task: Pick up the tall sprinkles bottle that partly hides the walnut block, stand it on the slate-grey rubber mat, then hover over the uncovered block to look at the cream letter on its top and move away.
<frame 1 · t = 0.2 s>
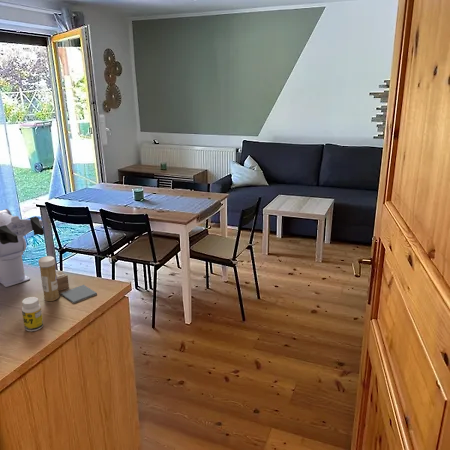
hand: (29, 235, 124), 21 cm above the table, tool horizontal, fingers open, 7 cm apart
grey mat: (78, 294, 134), on the table
sprinkles bottle: (51, 298, 132), on the table
supplement bottle: (34, 327, 117), on the table
walnut block: (59, 287, 139), on the table
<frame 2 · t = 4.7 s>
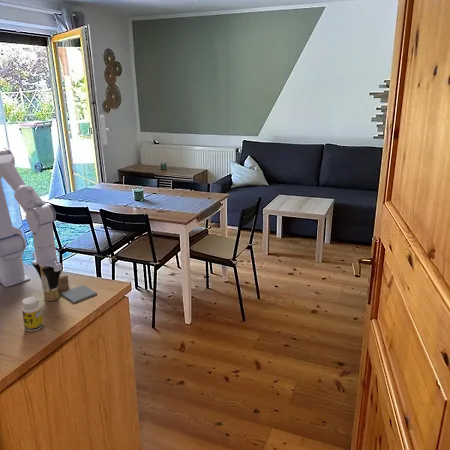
hand: (50, 285, 130), 4 cm above the table, tool pointing down, fingers closed on sprinkles bottle, 4 cm apart
sprinkles bottle: (51, 298, 132), on the table, touching gripper
everything else where it was.
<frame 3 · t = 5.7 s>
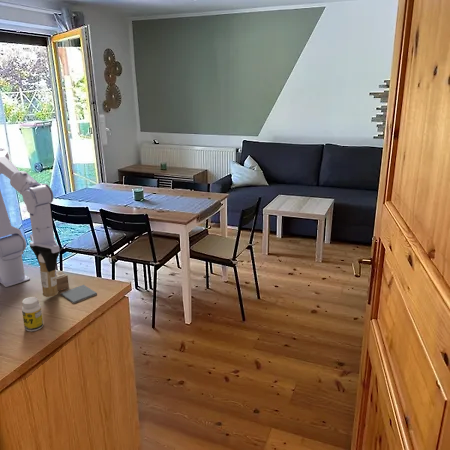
hand: (47, 268, 128), 10 cm above the table, tool pointing down, fingers closed on sprinkles bottle, 4 cm apart
sprinkles bottle: (50, 294, 131), point 1 cm above the table, touching gripper
everything else where it was.
when the fingers open (6 cm above the table, at t = 7.8 s): sprinkles bottle stays where it is, resting on grey mat.
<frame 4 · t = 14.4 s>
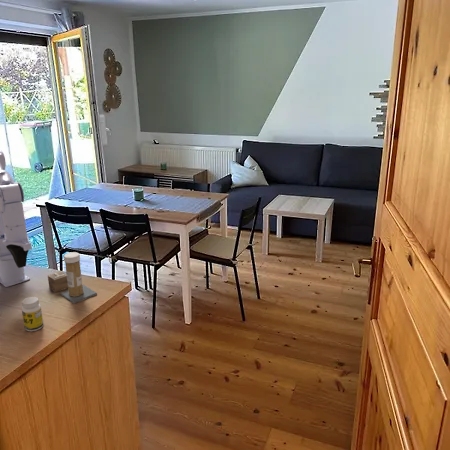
hand: (21, 266, 129), 10 cm above the table, tool pointing down, fingers closed
sprinkles bottle: (76, 294, 134), resting on grey mat
everything else where it was.
at the end: sprinkles bottle 0.8 cm off-centre on the grey mat, point 0.4 cm above the grey mat's base; sprinkles bottle tilted 0°; walnut block moved 0.1 cm from its start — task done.
